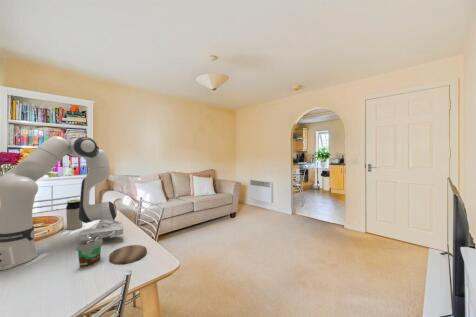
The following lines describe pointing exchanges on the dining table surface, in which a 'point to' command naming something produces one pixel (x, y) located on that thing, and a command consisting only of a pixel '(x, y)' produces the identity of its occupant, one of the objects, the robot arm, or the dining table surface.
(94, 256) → the food container
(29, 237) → the robot arm
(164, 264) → the dining table surface
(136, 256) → the walnut trivet
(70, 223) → the travel mug
